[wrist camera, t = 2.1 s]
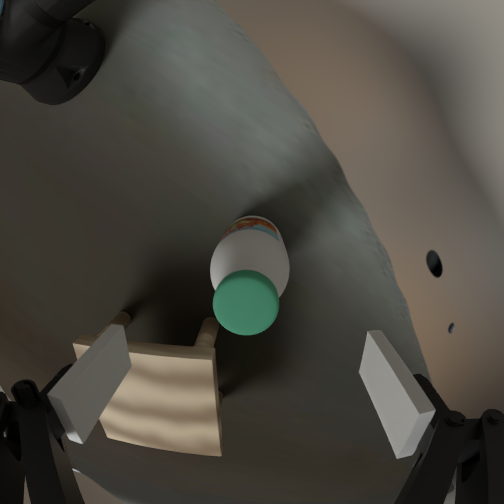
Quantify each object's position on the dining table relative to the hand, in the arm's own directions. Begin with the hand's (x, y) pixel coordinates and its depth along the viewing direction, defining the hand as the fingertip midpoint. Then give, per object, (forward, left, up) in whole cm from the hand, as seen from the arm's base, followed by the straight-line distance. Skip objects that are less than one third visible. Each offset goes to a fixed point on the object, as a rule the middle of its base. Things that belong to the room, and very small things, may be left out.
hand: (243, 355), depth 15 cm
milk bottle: (0, 0, -26) cm, 26 cm away
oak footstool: (+19, -13, -25) cm, 34 cm away
